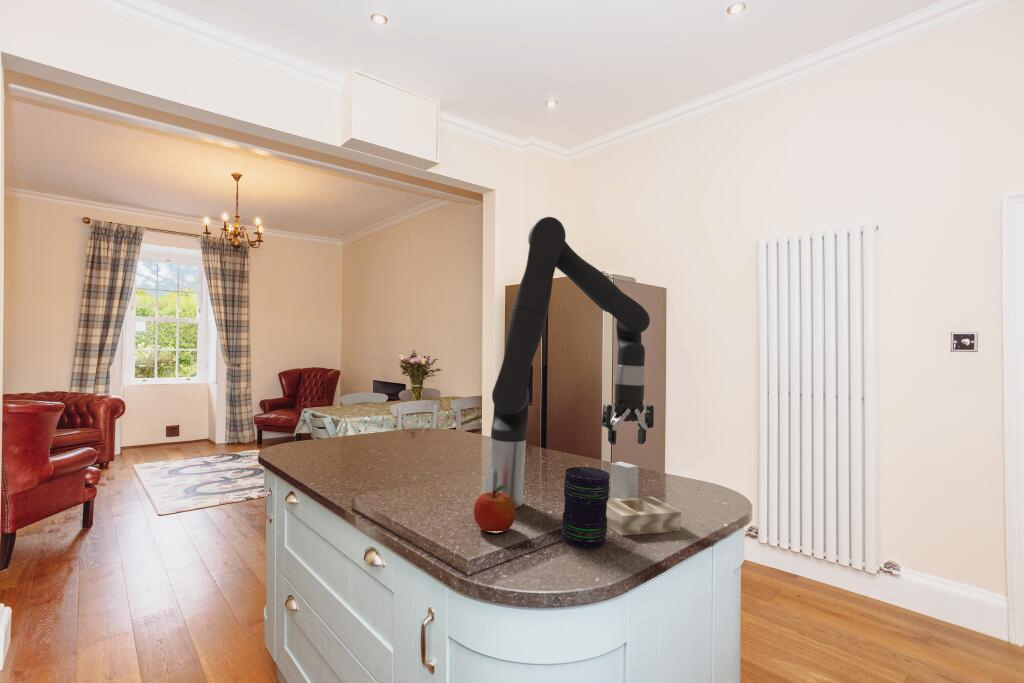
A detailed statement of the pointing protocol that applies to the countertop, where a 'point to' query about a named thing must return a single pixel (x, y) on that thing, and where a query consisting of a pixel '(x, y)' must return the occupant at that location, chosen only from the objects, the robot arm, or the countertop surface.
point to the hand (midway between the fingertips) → (626, 443)
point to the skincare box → (624, 480)
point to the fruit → (494, 511)
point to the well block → (641, 516)
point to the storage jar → (585, 507)
